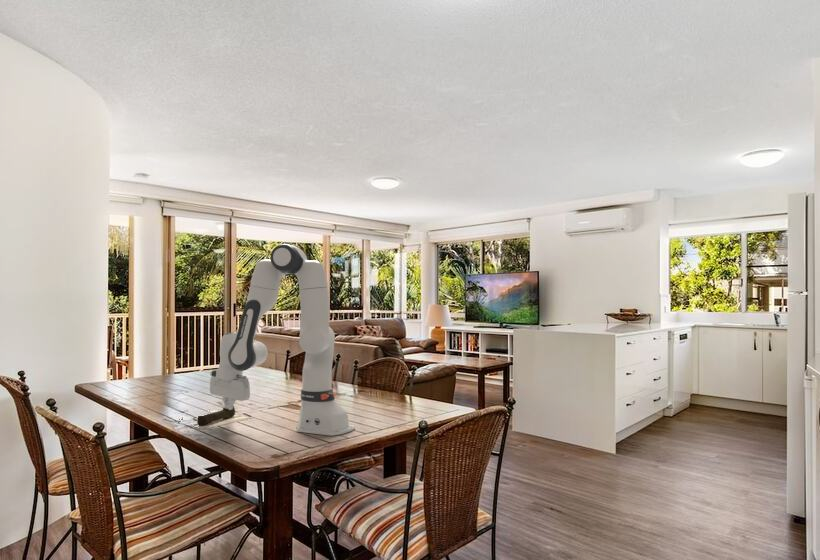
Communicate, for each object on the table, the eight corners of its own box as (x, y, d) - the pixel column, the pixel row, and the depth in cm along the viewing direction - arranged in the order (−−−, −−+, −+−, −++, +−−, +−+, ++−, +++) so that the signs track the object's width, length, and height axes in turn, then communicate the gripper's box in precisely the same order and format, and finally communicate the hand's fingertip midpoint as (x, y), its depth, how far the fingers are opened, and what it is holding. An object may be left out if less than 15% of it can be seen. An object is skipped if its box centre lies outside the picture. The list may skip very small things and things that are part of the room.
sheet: (251, 420, 201) (251, 417, 201) (203, 431, 182) (203, 429, 182) (209, 411, 216) (209, 409, 216) (160, 421, 197) (160, 418, 197)
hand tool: (204, 427, 185) (204, 414, 186) (196, 425, 187) (196, 413, 187) (239, 416, 203) (240, 405, 203) (232, 415, 204) (232, 404, 205)
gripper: (255, 375, 189) (253, 411, 188) (221, 369, 200) (219, 404, 199) (241, 377, 183) (239, 414, 183) (207, 371, 195) (205, 406, 194)
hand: (228, 409), depth 191 cm, fingers closed
